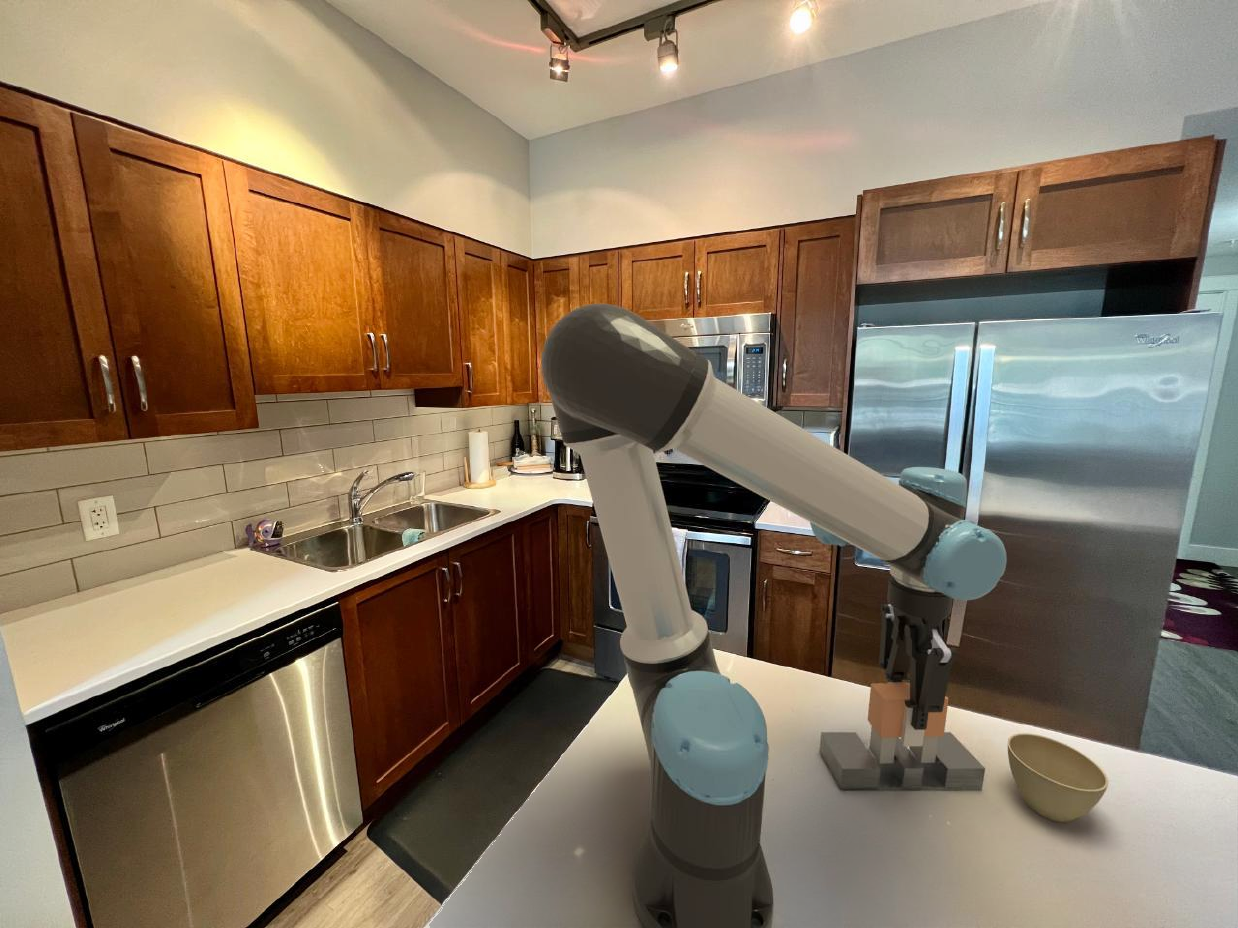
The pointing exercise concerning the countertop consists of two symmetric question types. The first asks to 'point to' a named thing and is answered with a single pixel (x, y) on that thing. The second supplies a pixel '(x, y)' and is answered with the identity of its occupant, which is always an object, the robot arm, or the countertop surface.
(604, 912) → the countertop surface
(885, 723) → the orange block
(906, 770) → the grey block fixture
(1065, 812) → the beige planter bowl
